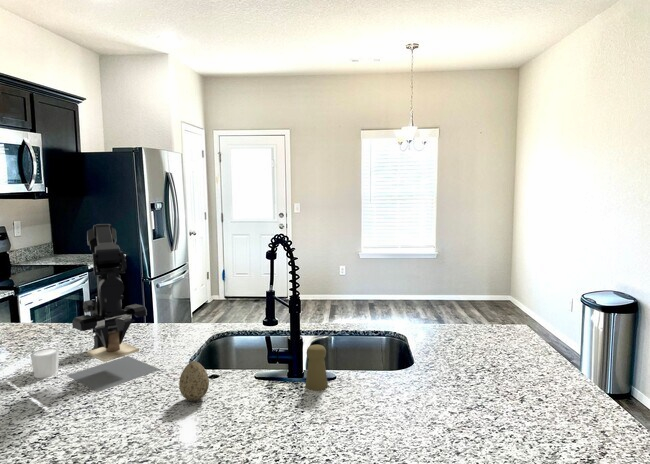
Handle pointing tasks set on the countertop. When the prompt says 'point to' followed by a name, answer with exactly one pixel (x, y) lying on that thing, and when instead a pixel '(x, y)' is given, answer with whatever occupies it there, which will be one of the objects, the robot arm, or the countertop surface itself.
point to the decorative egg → (194, 381)
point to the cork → (316, 368)
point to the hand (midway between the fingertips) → (112, 346)
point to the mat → (112, 373)
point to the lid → (112, 349)
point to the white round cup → (45, 362)
